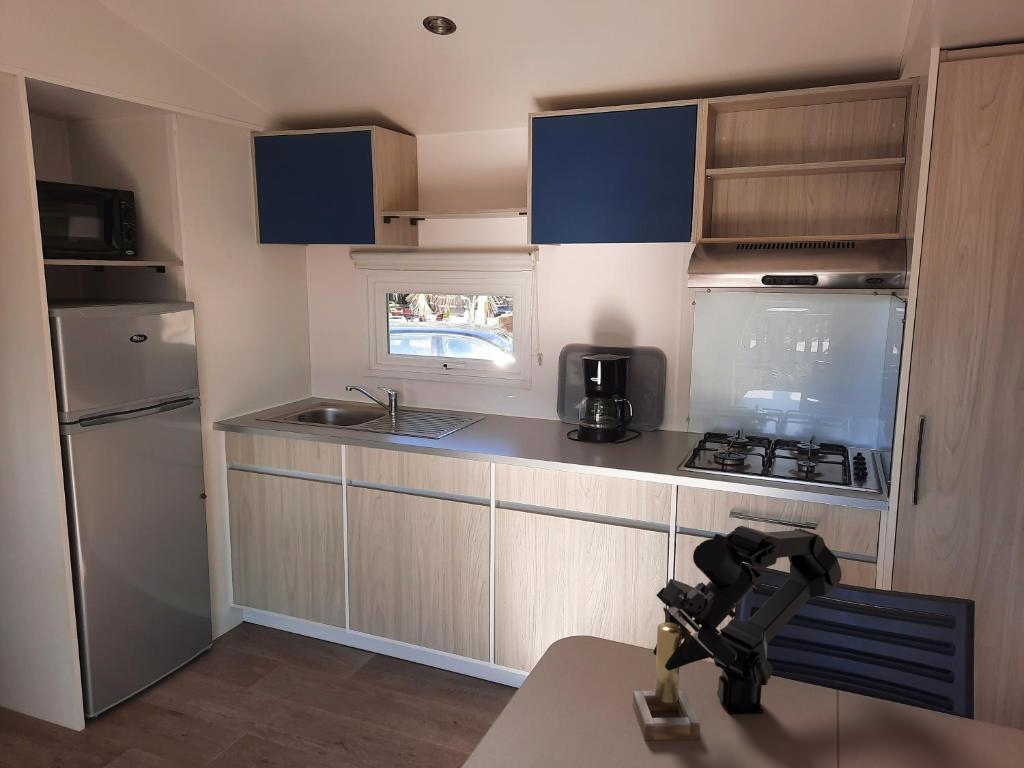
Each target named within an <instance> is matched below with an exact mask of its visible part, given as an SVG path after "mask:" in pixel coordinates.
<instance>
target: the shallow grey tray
mask: <svg viewBox="0 0 1024 768" xmlns="http://www.w3.org/2000/svg"><path fill="white" fill-rule="evenodd" d="M632 694H633V695H632V696H633V697H632V707H633V711H634V714H635V717H636V719H637V722H638V725H639V727H640V732H641V734H642V735H641V736H642V738H643V740H644V741H667V740H669V741H671V740H673V741H674V740H675V741H676V740H700V732H701V731H700V730H701V724H700V721H699V719H698V717H697V715H696V712H695V710H694V708H693V707H692V704H691V702H690V699H689V697H688V696H687V693H686V691H685V690H684V689H683V690H681V689H679V698H678V700H677V701H675V702H672V703H666V702H662V701H660V700H658V699H657V698H656V697H655V690H643V691H642V690H634V691H633V693H632ZM651 712H677V713H678V716H679V717H652V714H651Z"/></svg>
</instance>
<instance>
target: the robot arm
mask: <svg viewBox="0 0 1024 768" xmlns="http://www.w3.org/2000/svg"><path fill="white" fill-rule="evenodd" d="M824 540H825V539H824V538H823V537H822V536H820V534H817V533H814V532H811V531H809V530H806V529H803V528H799V529H798V528H795V529H793V530H782V531H767V532H765V531H762V530H758V529H755V528H751V527H748V526H744V525H738V526H737V527H735V528H734V530H733V531H730V532H729V533H728V534H726V535H725V536H724V535H722V534H720V533H715V534H714V536H713V538H710V539H705V540H704V541H702V542H701V543H699V544H698V545H697V546H695V549H694V551H693V553H692V554H693V555H692V561H693V563H694V565H695V567H696V568H697V569H698V570H699V571H700V572H701V573H702V574H703V575H704V576H706V578H707V579H708V580H709V582H708V583H707V584H705V583H704V582H702V581H701V582H699V583H698V584H697V585H696V586H694V587H693V586H691V585H689V584H687V583H684V582H682V581H679V580H676V579H673V578H669V580H668V583H667V584H666V586H665V587H662V588H661V590H659V592H657V593H656V597H657V598H658V600H660V601H661V602H662V603H663V604H665V605H666V606H667V608H666V607H665V606H664V607H663V610H662V611H664V617H665V622H664V623H666V622H669V623H674V624H677V625H679V626H680V627H681V628H682V640H683V642H681V645H680V646H679V648H678V649H677V650H676V651H675V653H674V654H673V655H672V656H671V658H670V659H669V660H668V662H667V663H666V665H665V668H666V669H667V670H669V671H670V670H673V669H675V668H678V667H680V668H682V667H683V666H687V665H688V664H691V663H694V662H698V661H702V660H706V659H709V658H710V659H711V660H713V661H714V666H715V667H716V668H719V669H721V675H719V676H718V686H717V687H718V688H717V691H716V694H717V697H718V700H719V701H720V703H721V705H722V706H723V707H724V709H725V711H726V713H727V714H728V715H757V714H758V715H759V714H760V715H761V714H764V713H765V709H764V707H763V706H762V705H761V701H762V688H763V686H767V685H768V681H769V680H770V679H771V676H772V674H773V670H774V667H773V665H772V664H771V663H770V662H769V661H768V659H767V657H768V656H767V655H768V654H767V653H768V644H770V642H771V641H772V640H773V639H774V638H775V637H776V635H778V634H779V632H781V630H782V629H783V628H784V627H785V626H786V625H787V624H788V622H789V621H790V620H791V619H792V618H793V617H794V616H795V615H796V614H797V613H798V612H799V611H800V609H802V607H803V606H804V605H805V604H806V603H807V602H808V601H809V600H810V599H814V598H819V597H824V596H826V595H827V594H828V593H830V592H831V591H832V590H834V589H835V588H836V587H837V586H838V585H839V584H840V583H841V580H842V576H843V575H842V569H841V566H840V565H841V564H840V563H839V560H838V558H837V556H836V555H835V554H834V553H833V552H832V551H831V550H830V549H829V548H828V546H827V545H826V543H825V541H824ZM780 558H788V561H789V564H790V565H789V577H788V579H787V580H786V581H785V582H784V583H783V584H781V586H780V587H779V588H778V589H777V590H776V591H775V592H774V593H773V594H772V596H770V597H769V598H768V599H767V601H765V602H764V603H763V605H762V606H761V607H760V608H759V609H758V610H757V611H756V612H755V613H754V614H753V615H751V617H750V618H749V619H748V620H747V621H743V620H740V619H738V618H736V615H737V613H736V612H735V611H734V609H735V608H736V607H737V606H738V605H739V604H740V603H741V601H742V600H744V598H745V597H746V596H747V595H748V594H749V592H751V591H752V589H753V588H754V589H756V590H757V591H760V590H761V589H762V581H761V578H762V574H761V573H759V572H758V571H757V570H756V569H755V568H760V569H766V568H770V567H771V566H774V565H776V564H777V560H778V559H780ZM746 564H748V565H751V566H753V567H750V568H749V566H747V565H746ZM754 567H755V568H754ZM728 616H729V617H730V618H731V619H730V621H728V623H726V624H725V626H724V627H723V628H721V629H720V630H718V629H717V628H718V627H719V626H720V625H721V624H722V622H723V621H724V620H725V619H726V618H727V617H728ZM693 618H694V619H693ZM687 625H688V626H690V628H692V629H693V631H695V633H693V635H692V632H691V631H690V629H689V628H688V627H687ZM653 654H654V655H655V656H656V655H657V643H656V645H655V647H654V649H653Z"/></svg>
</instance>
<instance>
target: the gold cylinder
mask: <svg viewBox="0 0 1024 768" xmlns="http://www.w3.org/2000/svg"><path fill="white" fill-rule="evenodd" d="M656 633H657V635H656V644H657V655H655V657H656V658H655V660H656V661H655V681H654V683H655V684H654V691H655V697H656V698H657V699H658V700H660V701H662V702H666V703H672V702H675V701H677V700H678V698H679V690H680V675H681V667H678V668H675V669H673V670H670V671H669V670H667V669H666V668H665V665H666V663H667V662H668V660H669V659H670V658H671V656H672V655H673V654H674V653H675V651H676V650H677V649H678V648H679V646H680V645H681V644H682V628H681V627H680V626H679V625H677V624H674V623H669V622H666V623H665V622H661V623H659V624H658V625H657V632H656Z"/></svg>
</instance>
